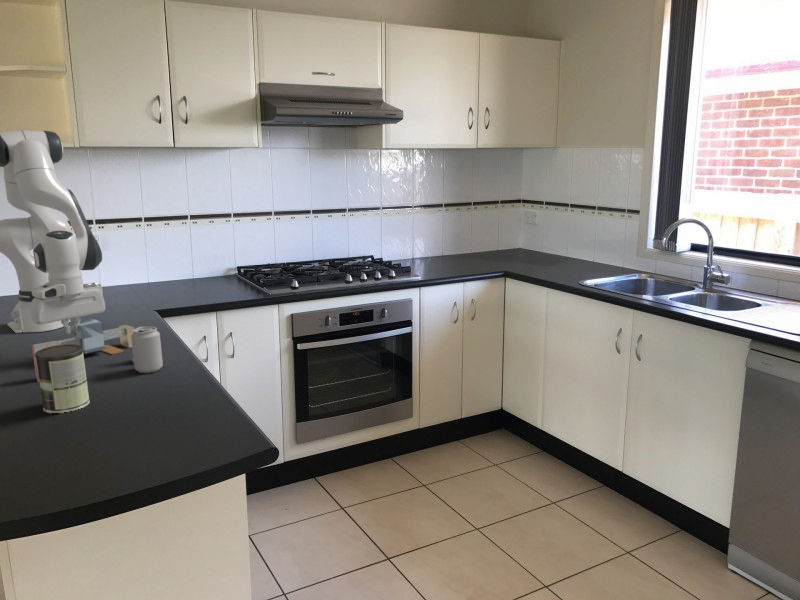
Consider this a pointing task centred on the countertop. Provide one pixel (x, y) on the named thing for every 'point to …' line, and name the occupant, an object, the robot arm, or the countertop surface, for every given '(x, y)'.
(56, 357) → the coffee can
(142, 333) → the can
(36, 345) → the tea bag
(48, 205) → the robot arm
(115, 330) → the rail
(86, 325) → the light blue block
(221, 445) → the countertop surface
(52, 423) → the countertop surface
